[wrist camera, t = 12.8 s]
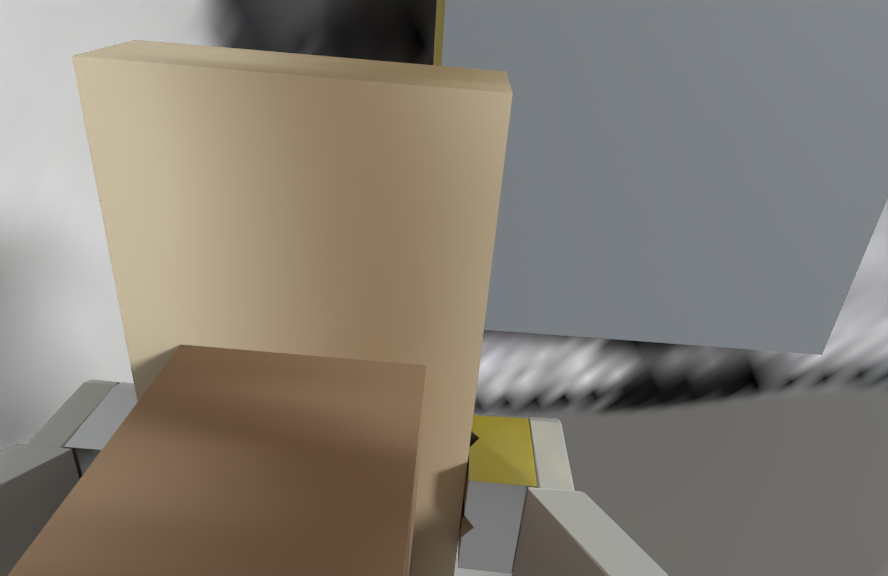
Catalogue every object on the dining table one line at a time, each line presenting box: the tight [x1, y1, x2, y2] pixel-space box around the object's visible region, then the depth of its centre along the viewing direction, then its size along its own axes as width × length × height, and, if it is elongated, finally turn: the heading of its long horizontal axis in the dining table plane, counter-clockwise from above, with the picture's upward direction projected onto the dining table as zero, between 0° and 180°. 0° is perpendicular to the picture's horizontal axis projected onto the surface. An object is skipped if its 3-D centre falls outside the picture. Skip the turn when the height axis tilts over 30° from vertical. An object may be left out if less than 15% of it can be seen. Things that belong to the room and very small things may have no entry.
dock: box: [433, 0, 888, 355], centre depth 24 cm, size 16×14×4 cm
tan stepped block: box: [72, 40, 513, 576], centre depth 11 cm, size 5×12×3 cm, turn 176°
